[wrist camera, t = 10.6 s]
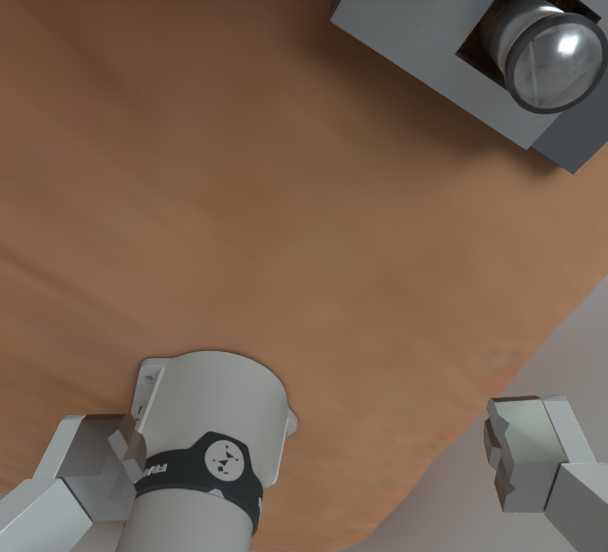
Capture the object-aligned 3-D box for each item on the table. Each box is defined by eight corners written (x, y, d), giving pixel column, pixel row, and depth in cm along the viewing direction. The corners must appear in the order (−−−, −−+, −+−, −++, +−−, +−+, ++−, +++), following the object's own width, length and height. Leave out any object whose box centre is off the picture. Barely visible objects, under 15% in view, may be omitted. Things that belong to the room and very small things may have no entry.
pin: (518, 75, 34) (562, 128, 27) (459, 43, 33) (488, 90, 26) (568, 5, 31) (631, 43, 24) (505, -32, 30) (551, -3, 23)
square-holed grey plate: (564, 162, 37) (582, 186, 34) (331, 7, 32) (329, 21, 29) (691, 36, 32) (725, 52, 29) (433, -178, 26) (444, -184, 23)
